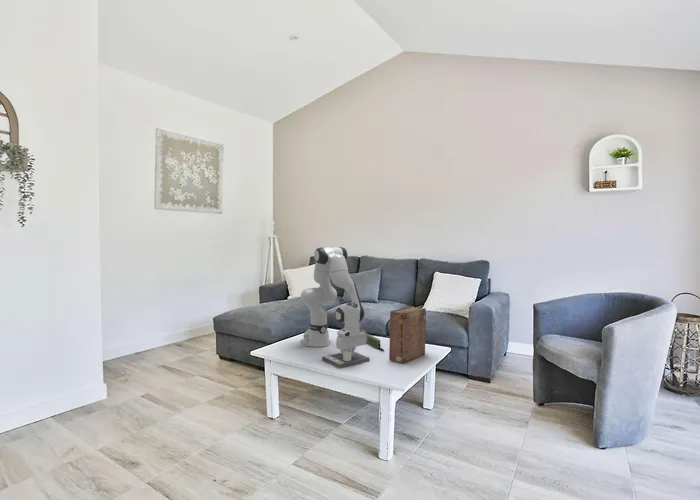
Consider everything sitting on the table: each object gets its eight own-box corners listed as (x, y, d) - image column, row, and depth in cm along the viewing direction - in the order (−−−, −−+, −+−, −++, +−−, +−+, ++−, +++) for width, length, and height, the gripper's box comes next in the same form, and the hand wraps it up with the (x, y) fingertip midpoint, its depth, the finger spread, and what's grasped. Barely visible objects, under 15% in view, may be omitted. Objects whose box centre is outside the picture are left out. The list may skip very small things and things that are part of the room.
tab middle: (345, 355, 234) (346, 347, 233) (350, 354, 236) (350, 346, 235) (349, 357, 231) (349, 348, 231) (353, 356, 233) (353, 347, 233)
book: (412, 351, 252) (414, 305, 251) (425, 354, 245) (426, 307, 244) (389, 360, 233) (390, 311, 232) (401, 364, 227) (402, 313, 226)
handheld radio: (367, 342, 273) (385, 352, 251) (363, 342, 272) (381, 352, 249) (367, 332, 273) (385, 341, 250) (363, 333, 272) (381, 342, 249)
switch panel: (322, 359, 232) (322, 356, 232) (351, 353, 245) (351, 350, 245) (339, 368, 218) (339, 364, 218) (369, 361, 231) (369, 357, 231)
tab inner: (340, 353, 238) (340, 345, 238) (345, 352, 240) (345, 344, 240) (343, 354, 235) (343, 346, 235) (348, 353, 238) (348, 345, 237)
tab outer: (343, 360, 225) (343, 351, 225) (347, 358, 228) (347, 350, 227) (346, 361, 223) (346, 352, 223) (351, 360, 225) (351, 351, 225)
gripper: (362, 327, 235) (361, 350, 236) (334, 332, 223) (334, 356, 223) (369, 329, 230) (368, 352, 231) (341, 334, 218) (340, 358, 218)
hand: (351, 354), depth 227 cm, fingers closed
